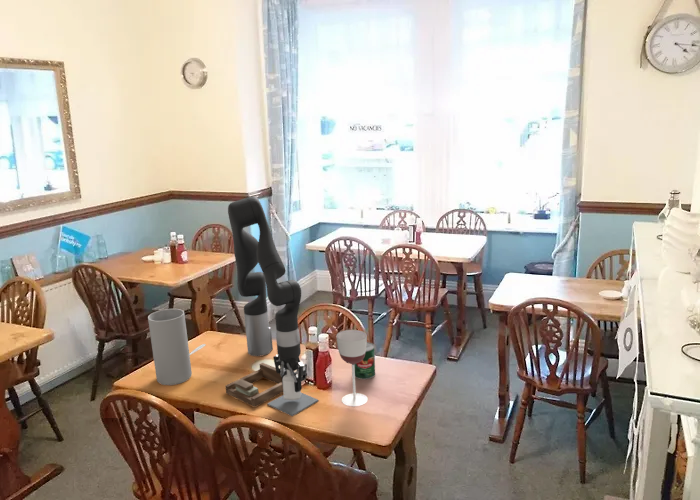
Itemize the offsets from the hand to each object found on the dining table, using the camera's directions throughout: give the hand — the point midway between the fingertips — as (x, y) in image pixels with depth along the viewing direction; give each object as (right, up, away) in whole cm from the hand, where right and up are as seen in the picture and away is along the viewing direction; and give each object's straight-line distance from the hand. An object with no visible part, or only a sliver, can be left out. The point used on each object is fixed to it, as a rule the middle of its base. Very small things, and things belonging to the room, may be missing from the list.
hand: (291, 388), depth 189 cm
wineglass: (+21, -4, +2) cm, 21 cm away
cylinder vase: (-46, -2, +23) cm, 51 cm away
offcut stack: (-16, -5, +7) cm, 18 cm away
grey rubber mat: (0, -5, +1) cm, 5 cm away
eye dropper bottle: (0, -4, +1) cm, 4 cm away
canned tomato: (+25, 0, +19) cm, 31 cm away
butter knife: (-47, +2, +40) cm, 61 cm away
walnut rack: (-12, -3, +11) cm, 17 cm away
